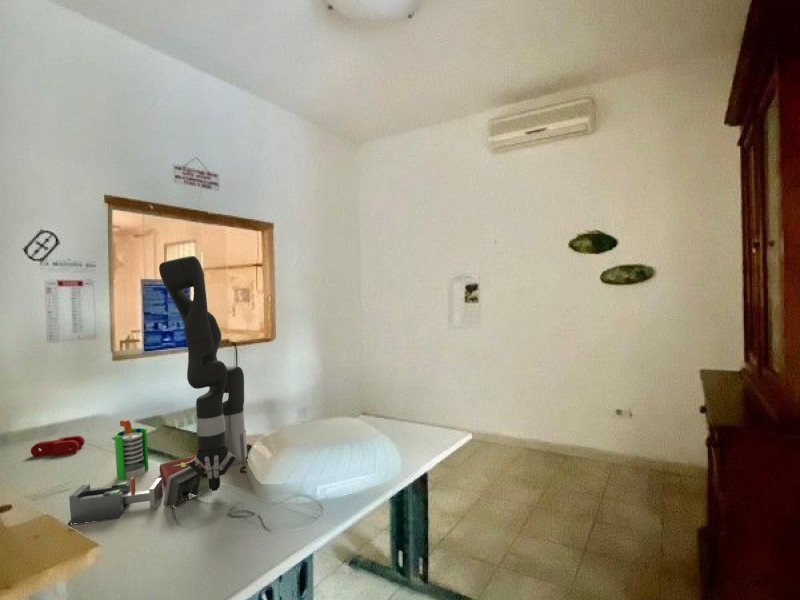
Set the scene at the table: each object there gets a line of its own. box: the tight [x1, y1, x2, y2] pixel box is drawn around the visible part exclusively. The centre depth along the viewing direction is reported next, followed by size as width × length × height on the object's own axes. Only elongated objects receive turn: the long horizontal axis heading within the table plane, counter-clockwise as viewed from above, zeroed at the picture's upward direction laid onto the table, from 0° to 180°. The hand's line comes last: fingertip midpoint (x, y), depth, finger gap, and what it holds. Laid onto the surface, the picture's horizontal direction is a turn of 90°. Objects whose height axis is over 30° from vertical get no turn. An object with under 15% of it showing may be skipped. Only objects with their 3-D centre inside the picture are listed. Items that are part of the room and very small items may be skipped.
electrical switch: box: [163, 466, 201, 508], centre depth 124 cm, size 9×5×9 cm, turn 158°
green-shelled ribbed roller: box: [114, 418, 149, 480], centre depth 146 cm, size 9×8×18 cm
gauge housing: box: [67, 481, 132, 527], centre depth 120 cm, size 12×10×7 cm
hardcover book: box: [159, 455, 209, 490], centre depth 139 cm, size 12×21×4 cm, turn 35°
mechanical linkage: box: [30, 435, 86, 458], centre depth 169 cm, size 16×7×5 cm, turn 108°
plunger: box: [123, 477, 164, 510], centre depth 121 cm, size 13×7×8 cm, turn 103°
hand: (214, 489), depth 126 cm, fingers closed
